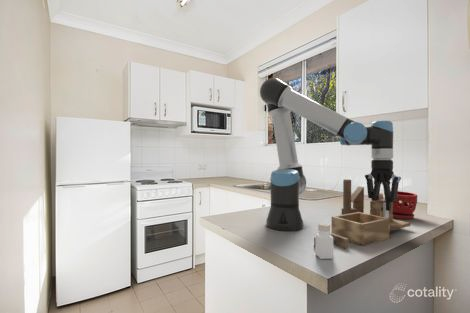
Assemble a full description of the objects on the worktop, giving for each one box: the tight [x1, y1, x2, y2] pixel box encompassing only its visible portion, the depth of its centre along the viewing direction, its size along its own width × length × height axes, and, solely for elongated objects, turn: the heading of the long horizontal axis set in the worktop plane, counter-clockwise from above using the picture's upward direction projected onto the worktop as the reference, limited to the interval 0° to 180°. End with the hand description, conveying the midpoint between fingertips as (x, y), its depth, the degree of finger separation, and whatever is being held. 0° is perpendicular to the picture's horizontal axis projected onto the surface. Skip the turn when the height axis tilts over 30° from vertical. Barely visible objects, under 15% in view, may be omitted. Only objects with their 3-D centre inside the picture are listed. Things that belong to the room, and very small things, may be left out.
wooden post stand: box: [369, 198, 411, 232], centre depth 99 cm, size 13×17×10 cm
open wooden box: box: [331, 212, 391, 247], centre depth 89 cm, size 12×16×7 cm
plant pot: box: [393, 190, 418, 220], centre depth 119 cm, size 13×13×12 cm
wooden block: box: [341, 179, 365, 215], centre depth 121 cm, size 4×11×18 cm, turn 109°
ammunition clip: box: [370, 192, 384, 217], centre depth 114 cm, size 11×2×12 cm, turn 125°
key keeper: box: [313, 232, 349, 250], centre depth 78 cm, size 6×9×3 cm
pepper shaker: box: [314, 222, 334, 260], centre depth 71 cm, size 4×4×10 cm
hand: (381, 217), depth 99 cm, fingers closed on wooden post stand, 3 cm apart
